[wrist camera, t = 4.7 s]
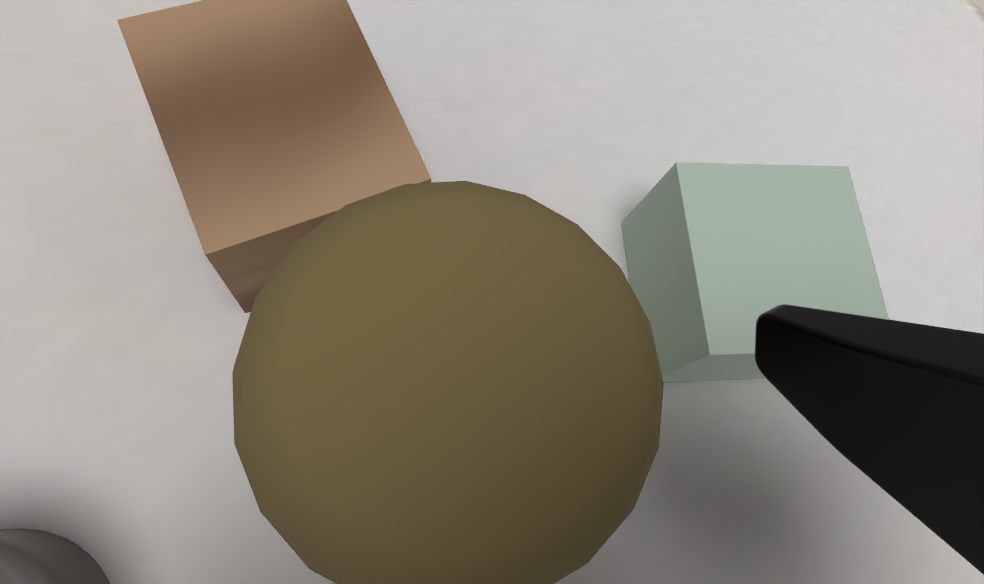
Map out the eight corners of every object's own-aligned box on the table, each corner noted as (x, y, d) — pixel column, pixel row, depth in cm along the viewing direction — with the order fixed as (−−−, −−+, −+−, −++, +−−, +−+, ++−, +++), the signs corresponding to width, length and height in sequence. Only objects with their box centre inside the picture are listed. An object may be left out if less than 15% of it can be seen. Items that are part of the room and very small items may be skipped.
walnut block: (418, 251, 19) (431, 178, 14) (246, 314, 17) (205, 254, 13) (341, 83, 20) (332, -29, 16) (175, 129, 18) (117, 20, 14)
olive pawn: (395, 290, 18) (425, 7, 8) (567, 424, 18) (837, 317, 7) (239, 467, 16) (-9, 407, 6) (430, 623, 16) (541, 865, 5)
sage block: (763, 226, 21) (848, 166, 17) (795, 377, 20) (896, 348, 16) (619, 225, 20) (675, 162, 16) (642, 384, 19) (709, 355, 15)
